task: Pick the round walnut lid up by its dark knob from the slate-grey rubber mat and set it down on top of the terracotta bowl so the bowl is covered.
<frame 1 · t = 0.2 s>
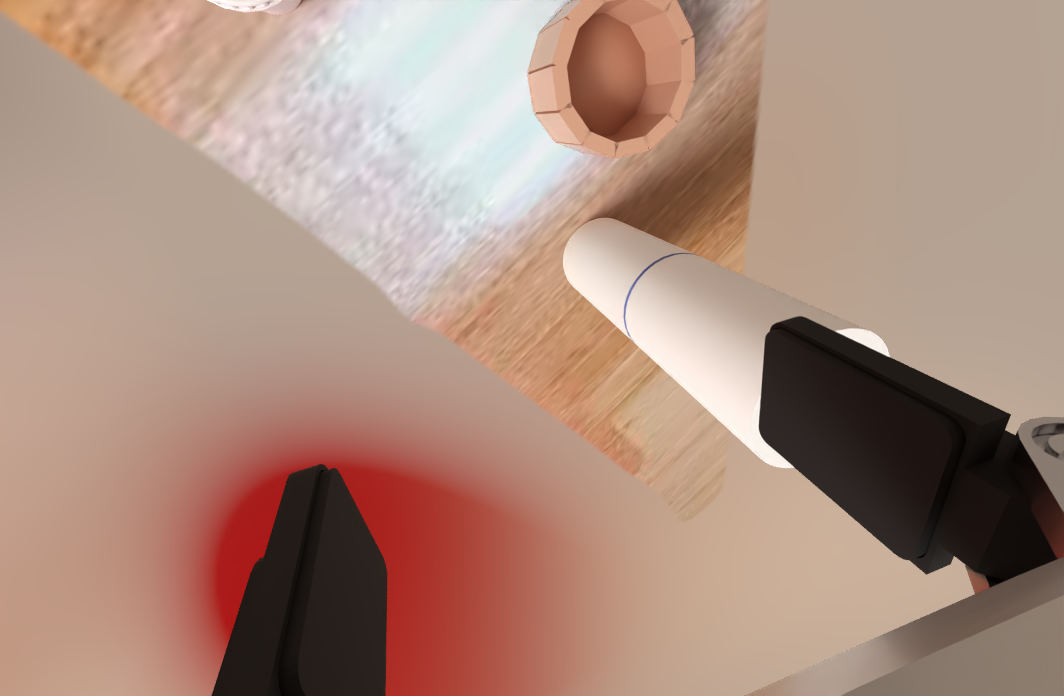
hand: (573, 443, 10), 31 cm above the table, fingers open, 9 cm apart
bowl: (592, 80, 35), on the table
cylindrical container: (599, 257, 42), on the table
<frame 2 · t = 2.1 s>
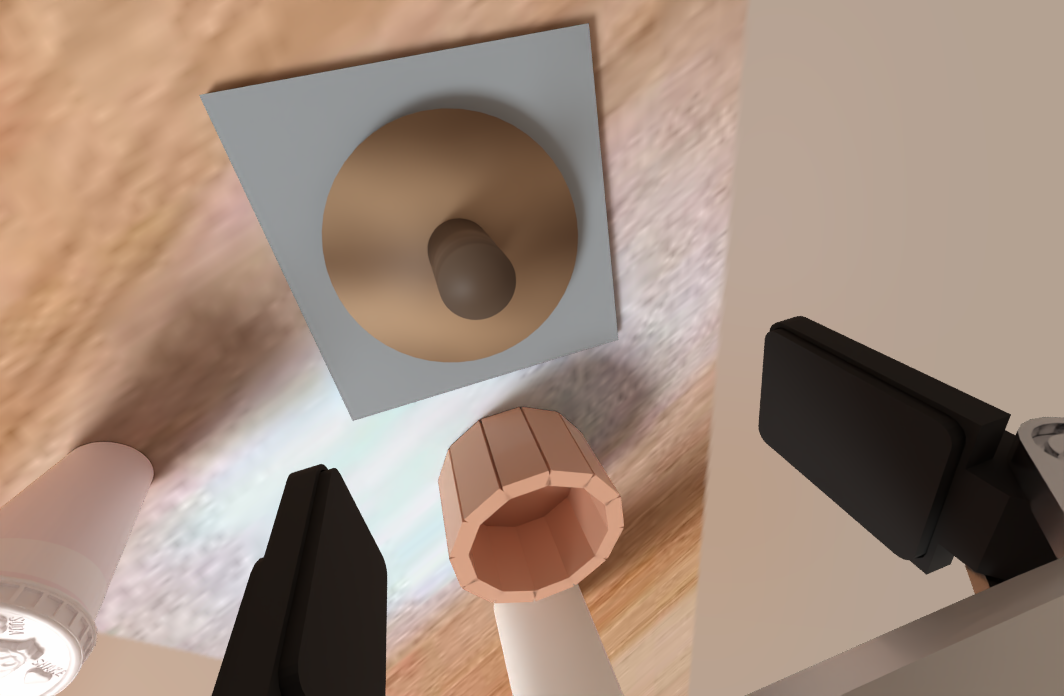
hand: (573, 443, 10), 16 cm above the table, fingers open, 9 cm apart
bowl: (515, 470, 31), on the table
lid: (456, 245, 23), point 1 cm above the table, touching mat
cylindrical container: (535, 595, 38), on the table
mat: (455, 242, 23), on the table
smoothie: (111, 468, 24), on the table
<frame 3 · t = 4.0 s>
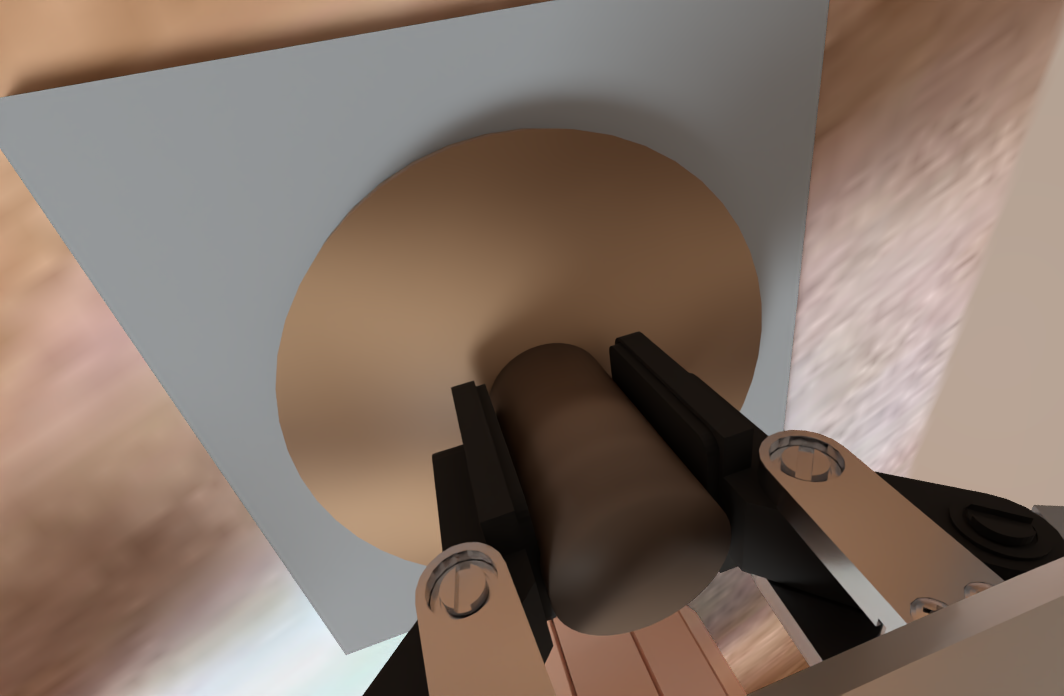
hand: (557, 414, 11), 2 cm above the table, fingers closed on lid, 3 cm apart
bowl: (596, 671, 20), on the table
lid: (537, 378, 12), point 1 cm above the table, touching gripper, mat
mat: (532, 368, 13), on the table
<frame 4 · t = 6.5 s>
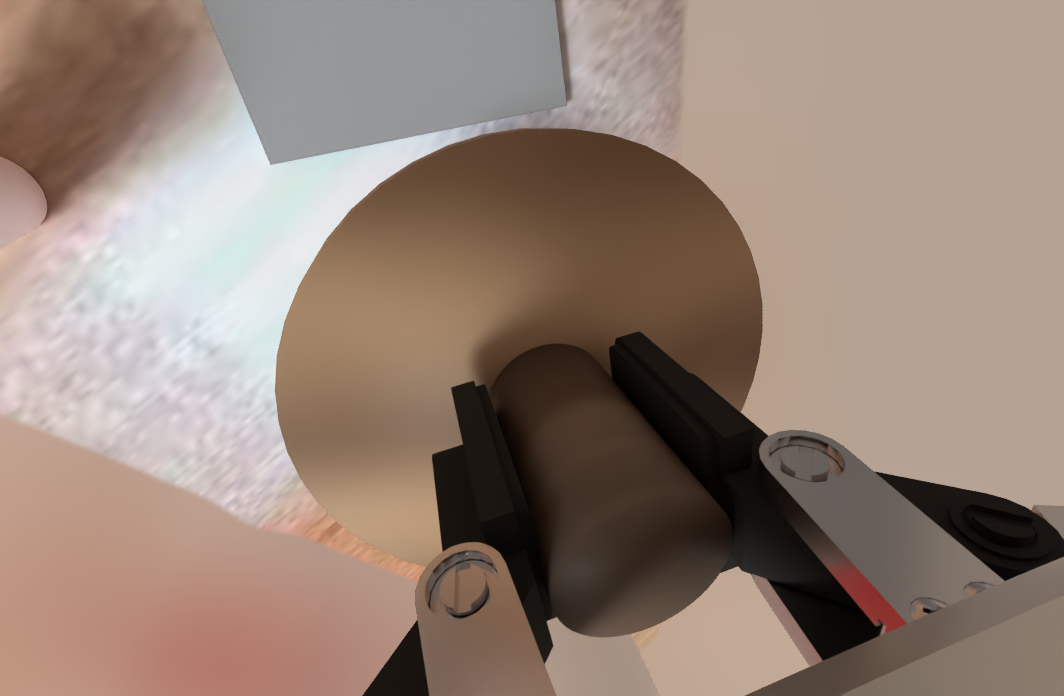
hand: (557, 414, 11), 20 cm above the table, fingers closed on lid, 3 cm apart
lid: (537, 379, 12), point 18 cm above the table, touching gripper
cylindrical container: (490, 441, 36), on the table
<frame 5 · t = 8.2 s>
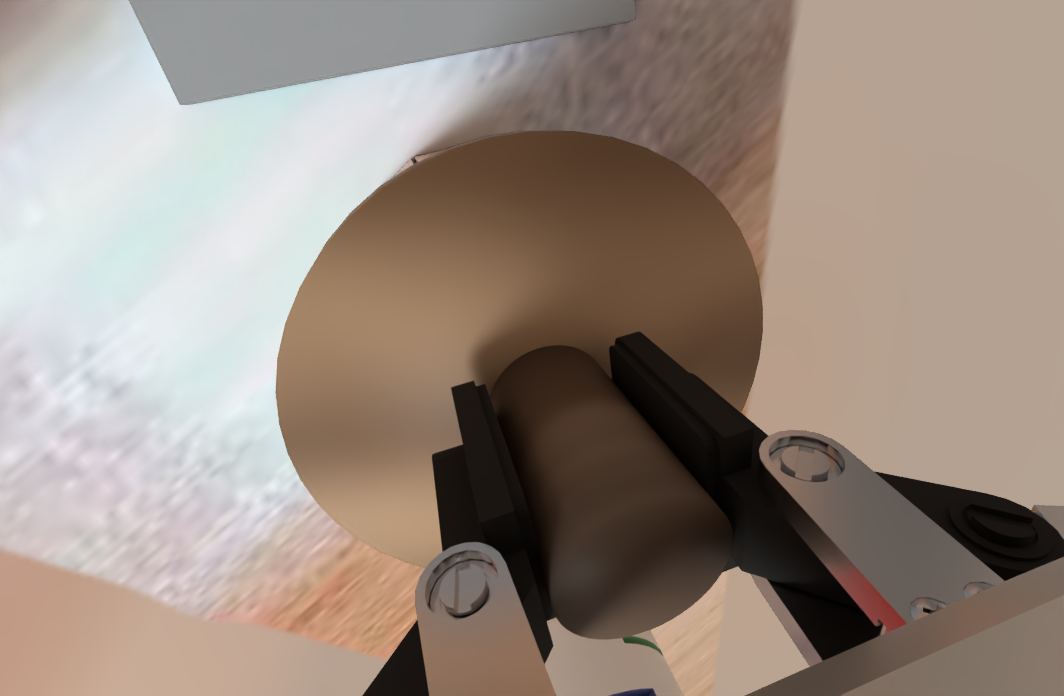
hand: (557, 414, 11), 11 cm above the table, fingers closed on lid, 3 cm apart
lid: (538, 380, 12), point 10 cm above the table, touching gripper
cylindrical container: (514, 496, 27), on the table
when the fingers open (9 cm above the table, at t = 9.3 s): lid drops 1 cm, resting on bowl.
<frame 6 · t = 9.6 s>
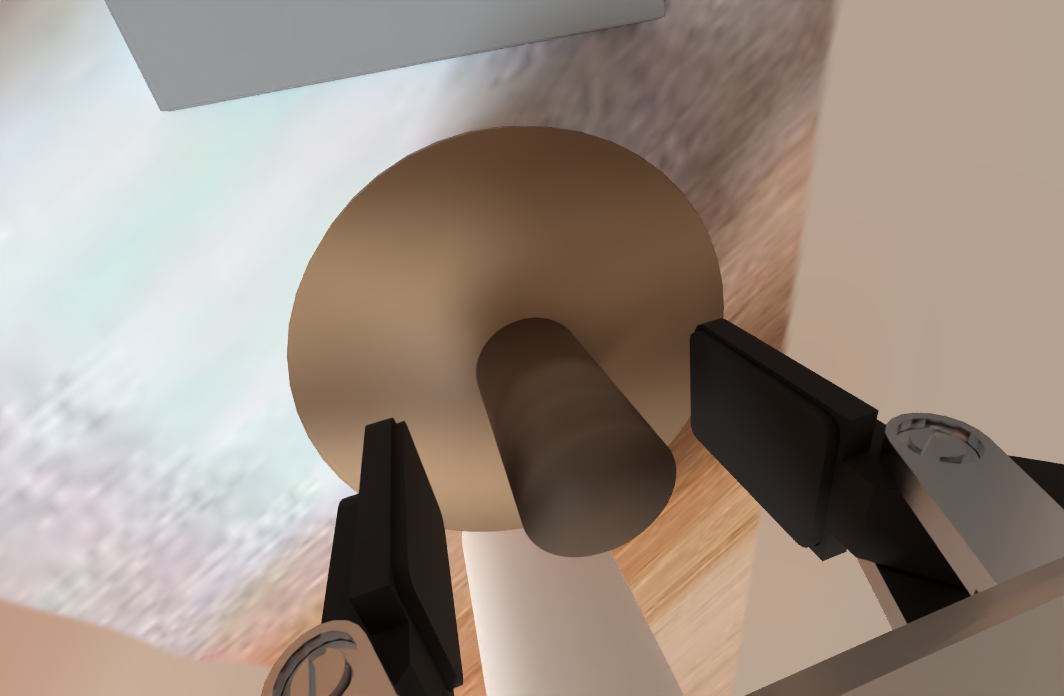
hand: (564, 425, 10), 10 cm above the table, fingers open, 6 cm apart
lid: (521, 352, 13), point 6 cm above the table, touching bowl
cylindrical container: (526, 525, 25), on the table
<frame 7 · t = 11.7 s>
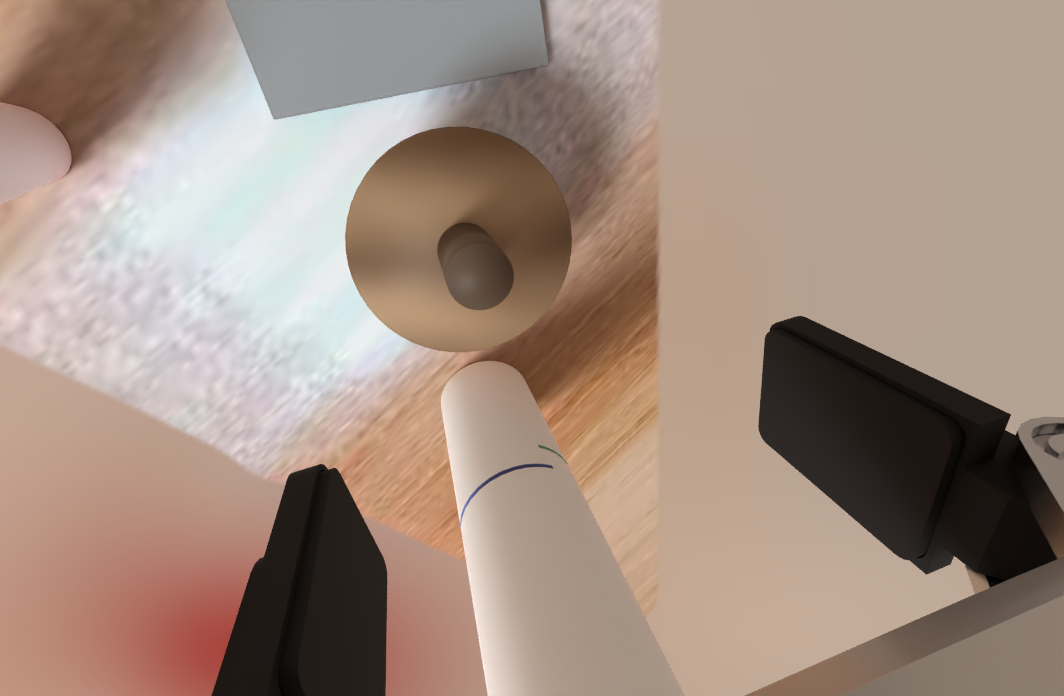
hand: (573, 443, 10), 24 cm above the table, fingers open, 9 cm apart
lid: (463, 246, 25), point 6 cm above the table, touching bowl
cylindrical container: (485, 398, 37), on the table
smoothie: (28, 145, 24), on the table
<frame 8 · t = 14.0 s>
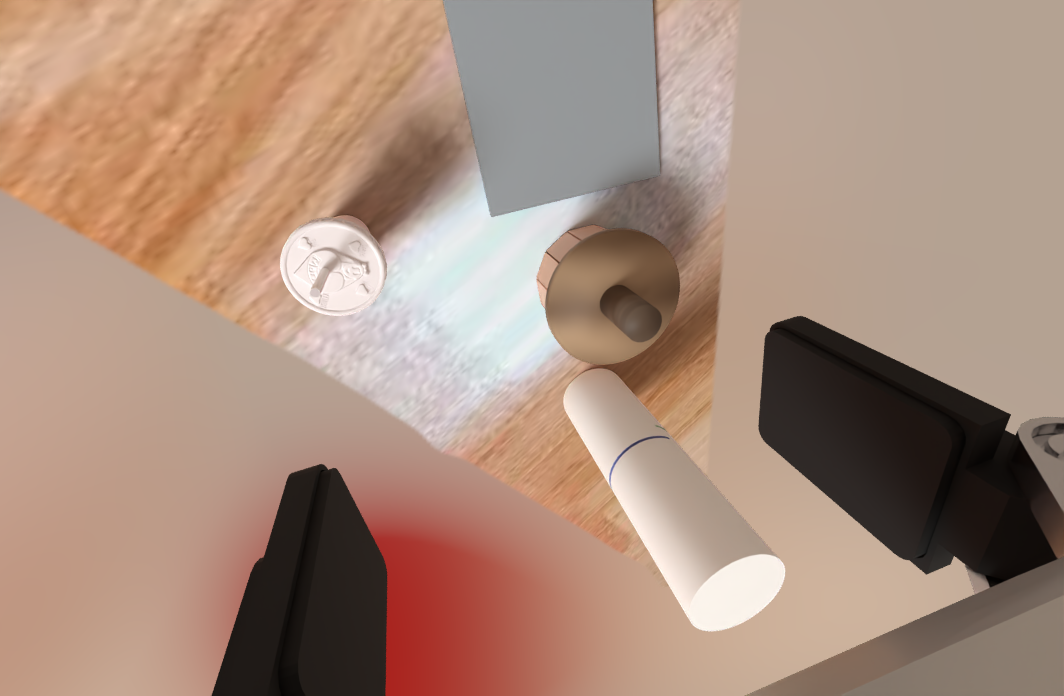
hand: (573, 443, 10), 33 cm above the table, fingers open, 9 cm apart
bowl: (586, 277, 45), on the table
lid: (611, 298, 40), point 6 cm above the table, touching bowl
cylindrical container: (592, 395, 52), on the table
mat: (563, 95, 37), on the table
smoothie: (348, 237, 38), on the table
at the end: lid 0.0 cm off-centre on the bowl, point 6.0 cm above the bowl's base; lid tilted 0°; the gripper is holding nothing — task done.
